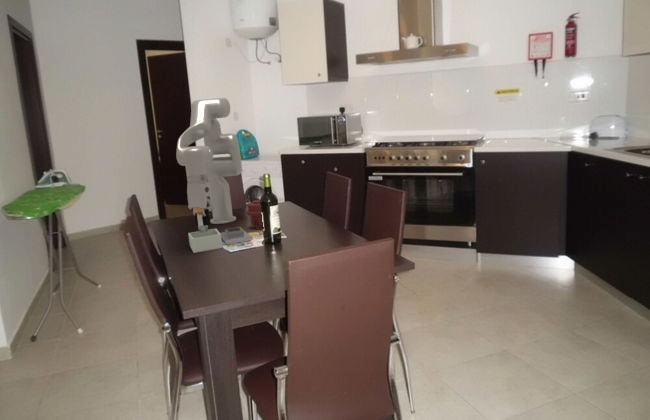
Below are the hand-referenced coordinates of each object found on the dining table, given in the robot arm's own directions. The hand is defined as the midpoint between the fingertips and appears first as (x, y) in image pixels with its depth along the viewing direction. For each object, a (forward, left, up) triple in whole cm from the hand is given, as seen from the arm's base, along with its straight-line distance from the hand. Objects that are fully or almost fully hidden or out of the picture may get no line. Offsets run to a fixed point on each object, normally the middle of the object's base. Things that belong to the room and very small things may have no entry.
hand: (202, 224), depth 201 cm
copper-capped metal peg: (0, 0, -3) cm, 3 cm away
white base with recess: (-5, +13, -10) cm, 17 cm away
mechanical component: (-18, +27, -10) cm, 34 cm away
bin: (0, 0, -10) cm, 10 cm away
